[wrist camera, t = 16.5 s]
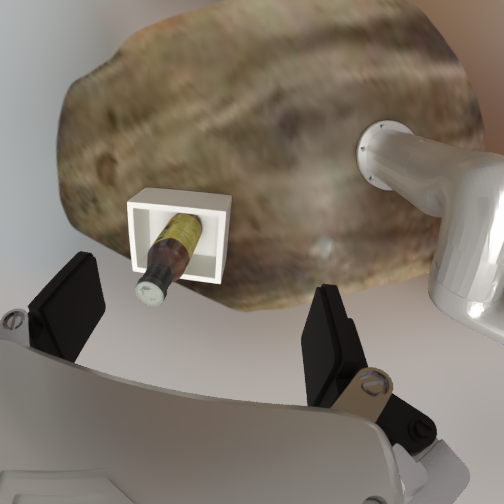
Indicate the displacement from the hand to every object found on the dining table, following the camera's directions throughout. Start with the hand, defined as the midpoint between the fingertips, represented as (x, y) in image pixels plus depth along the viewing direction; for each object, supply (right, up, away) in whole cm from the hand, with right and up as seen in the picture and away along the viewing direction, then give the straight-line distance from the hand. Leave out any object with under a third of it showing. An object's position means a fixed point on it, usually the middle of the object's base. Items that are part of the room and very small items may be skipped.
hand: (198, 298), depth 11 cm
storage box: (-10, +7, +40) cm, 42 cm away
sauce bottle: (-10, +7, +40) cm, 41 cm away
